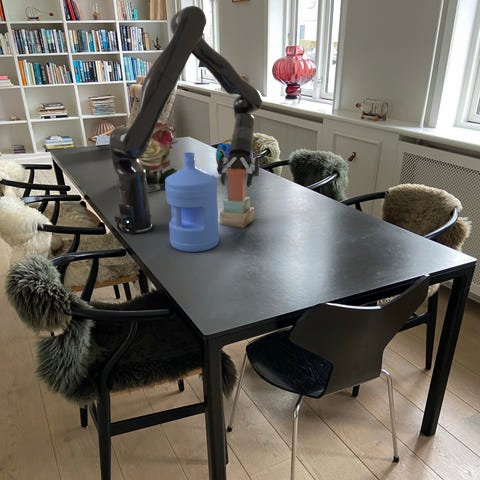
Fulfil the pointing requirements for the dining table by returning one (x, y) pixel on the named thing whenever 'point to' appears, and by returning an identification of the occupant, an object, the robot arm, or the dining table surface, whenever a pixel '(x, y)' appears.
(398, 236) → the dining table surface
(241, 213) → the stack
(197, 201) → the water jug
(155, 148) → the rose bouquet
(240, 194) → the tall block
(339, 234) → the dining table surface
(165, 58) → the robot arm
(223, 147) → the ceramic pot
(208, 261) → the dining table surface
